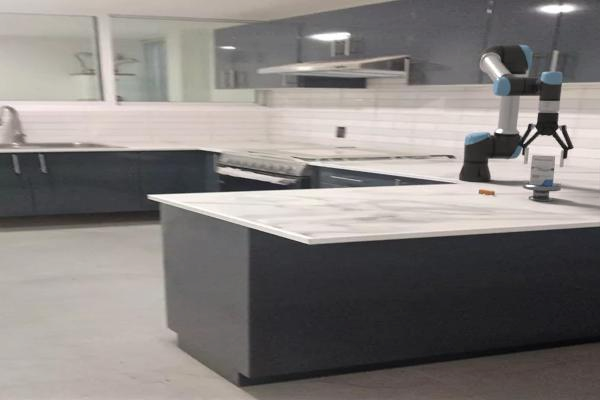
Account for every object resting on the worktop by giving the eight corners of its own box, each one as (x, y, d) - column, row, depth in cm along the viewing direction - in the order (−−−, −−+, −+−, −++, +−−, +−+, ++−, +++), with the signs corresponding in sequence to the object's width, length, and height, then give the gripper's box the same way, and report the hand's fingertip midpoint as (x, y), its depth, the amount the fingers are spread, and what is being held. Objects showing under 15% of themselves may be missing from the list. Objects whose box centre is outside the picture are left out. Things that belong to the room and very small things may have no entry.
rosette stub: (517, 199, 216) (518, 182, 215) (527, 194, 227) (529, 178, 225) (554, 204, 207) (556, 186, 206) (563, 198, 218) (565, 181, 217)
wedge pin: (478, 194, 229) (478, 189, 229) (481, 193, 231) (482, 189, 230) (491, 196, 225) (491, 191, 224) (494, 195, 226) (494, 191, 226)
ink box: (552, 184, 216) (555, 155, 214) (552, 186, 212) (555, 156, 210) (530, 183, 220) (532, 154, 218) (529, 184, 216) (531, 155, 213)
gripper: (512, 111, 215) (508, 163, 220) (581, 113, 200) (574, 169, 204) (518, 110, 221) (514, 161, 225) (585, 112, 205) (579, 167, 210)
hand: (543, 165), depth 215 cm, fingers open, 13 cm apart
